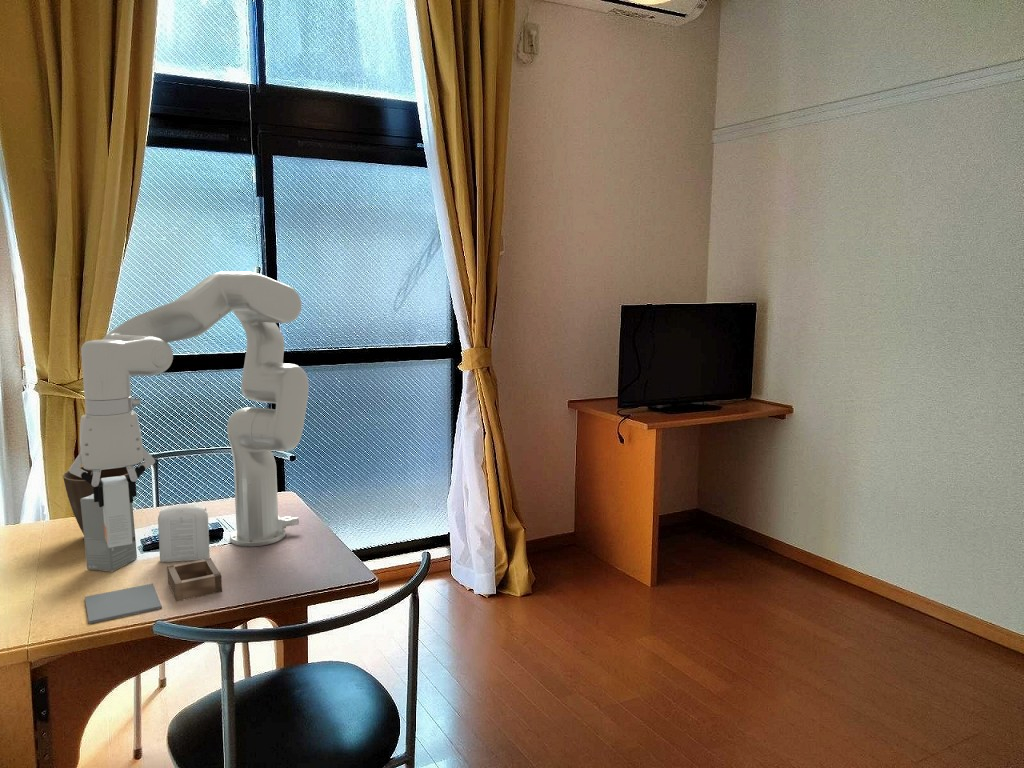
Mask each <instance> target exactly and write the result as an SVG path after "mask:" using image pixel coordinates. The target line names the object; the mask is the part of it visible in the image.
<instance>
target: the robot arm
mask: <svg viewBox="0 0 1024 768" xmlns="http://www.w3.org/2000/svg"><path fill="white" fill-rule="evenodd" d="M231 312H233V314H234V316H236V318H237V320H238V321H239V323H240V324H241V326H242V328H243V330H244V332H245V336H246V351H245V357H244V364H243V371H242V375H241V385H240V387H241V393H242V395H243V397H244V398H245V399H247V400H250V401H253V402H258V403H269V404H275V409H274V408H267V407H255V406H254V407H252V406H248V407H242V408H241V407H240V408H239V409H237V410H235V411H234V412H233V413H232V414H231V415H230V417H229V418H228V421H227V425H226V433H227V438H228V441H229V445H230V449H231V455H232V461H233V478H234V484H233V485H234V500H235V502H234V503H235V525H236V529H235V530H233V531H232V532H231V533H230V534H229V541H230V542H231V543H232V544H233V545H236V546H241V547H260V546H267V545H270V544H271V545H272V544H275V543H276V542H279V541H281V540H283V539H284V538H285V537H286V535H287V534H286V528H287V527H293V526H299V523H300V521H299V517H298V516H295V517H291V516H290V515H289V516H283V517H281V516H280V515H279V506H278V505H279V504H278V503H279V502H278V501H279V500H278V499H279V498H278V478H277V477H278V476H277V474H278V473H277V463H276V459H275V457H274V454H273V452H290V451H293V450H294V449H295V448H296V447H298V445H299V443H300V441H301V439H302V435H303V431H304V427H305V426H304V425H305V419H306V412H307V411H306V410H307V406H308V399H309V392H310V389H309V388H310V384H309V383H310V382H309V379H308V375H307V373H306V371H305V370H304V369H303V368H302V367H301V366H299V365H298V364H295V363H285V362H284V353H285V338H284V336H283V333H282V331H281V329H280V328H279V326H278V325H277V324H289V323H292V322H294V321H296V320H297V319H298V318H299V316H300V315H301V312H302V299H301V297H300V295H299V293H298V291H297V290H296V289H294V287H292V286H290V285H288V284H285V283H283V282H281V281H278V280H275V279H273V278H271V277H268V276H266V275H263V274H260V273H257V272H252V271H219V272H214V273H212V274H210V275H208V276H207V277H206V278H204V279H203V280H202V281H200V282H198V283H197V284H196V285H195V286H194V287H192V288H190V289H189V290H187V291H186V292H185V293H183V294H182V295H180V296H179V297H178V298H177V299H175V300H173V301H171V302H169V303H166V304H163V305H160V306H158V307H156V308H154V309H150V310H148V311H145V312H143V313H140V314H138V315H136V316H134V317H132V318H130V319H128V320H125V321H123V323H121V324H120V325H118V326H116V327H115V328H114V329H113V330H111V331H110V332H109V333H107V334H106V335H105V336H104V337H103V338H102V339H94V340H93V339H92V340H88V341H85V342H83V344H82V345H81V348H80V354H81V365H82V366H81V367H82V381H83V382H82V383H83V392H84V407H85V414H82V415H81V416H80V422H79V423H80V424H79V454H78V455H77V457H76V458H75V460H74V461H73V462H72V464H71V465H70V467H69V468H68V471H69V472H70V473H71V474H74V475H76V476H78V477H81V478H82V479H84V480H85V481H87V482H88V483H90V484H91V485H92V486H93V494H94V502H98V504H99V507H103V506H104V502H103V488H102V484H101V482H100V475H101V470H104V469H112V468H121V467H126V469H127V472H128V475H129V476H128V477H127V478H128V479H127V481H128V487H129V500H130V503H132V504H133V503H134V498H135V497H137V495H138V493H137V481H138V479H139V478H140V476H141V475H143V473H145V471H146V470H147V469H149V468H150V467H152V466H153V465H154V464H155V463H156V460H155V458H154V456H152V455H151V454H150V453H149V452H148V450H146V449H145V448H144V446H143V440H142V437H143V436H142V433H141V432H142V431H141V428H140V422H139V417H138V414H137V412H136V411H135V410H133V409H135V407H140V406H141V399H140V398H134V397H133V396H132V389H131V388H132V387H131V378H132V377H134V376H135V377H136V376H137V377H138V376H145V377H150V376H156V375H157V376H158V375H159V374H162V373H164V372H166V371H167V370H168V369H169V368H170V367H171V365H172V363H173V360H174V353H173V349H172V347H171V346H170V344H169V343H173V342H179V341H183V340H189V339H193V338H196V337H199V336H201V335H203V334H205V333H206V332H207V331H208V330H209V329H211V328H212V327H213V326H214V325H216V324H217V323H218V322H219V321H220V320H222V319H223V318H224V317H225V316H227V315H228V314H230V313H231ZM272 451H273V452H272ZM81 466H82V467H83V468H84V469H86V470H91V471H92V474H90V473H88V472H87V471H84V470H82V469H80V467H81ZM135 466H137V467H135ZM134 468H135V469H134Z"/></svg>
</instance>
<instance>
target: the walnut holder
mask: <svg viewBox="0 0 1024 768" xmlns="http://www.w3.org/2000/svg"><path fill="white" fill-rule="evenodd" d="M166 568H167V569H166V571H167V583H168V585H170V586H169V588H170V590H171V592H172V595H173V597H174V599H175V601H176V602H180V601H179V600H181V601H184V599H185V600H188V599H189V598H190V599H194V597H195V598H199V597H198V596H200V597H204V596H207V595H214V594H219V593H222V592H223V584H222V583H223V582H222V574H221V571H220V570H219V569H218V567H217V565H216V564H215V562H214V561H213V559H212V557H209V558H207V559H202V560H191V561H188V562H182V563H181V562H180V563H176V564H171V565H167V566H166ZM190 599H189V600H190Z"/></svg>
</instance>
